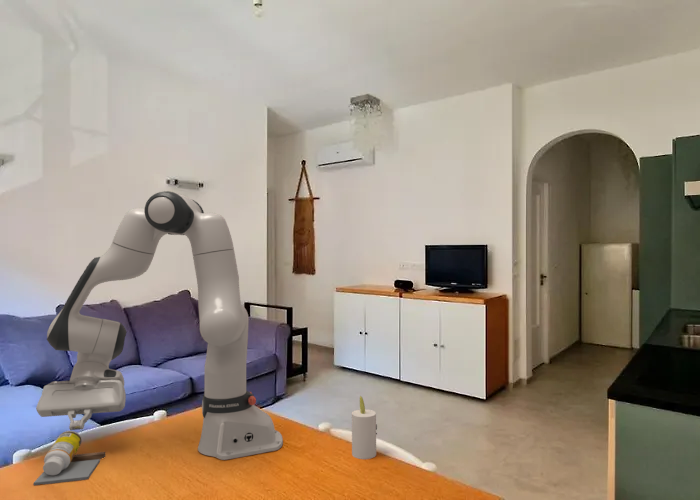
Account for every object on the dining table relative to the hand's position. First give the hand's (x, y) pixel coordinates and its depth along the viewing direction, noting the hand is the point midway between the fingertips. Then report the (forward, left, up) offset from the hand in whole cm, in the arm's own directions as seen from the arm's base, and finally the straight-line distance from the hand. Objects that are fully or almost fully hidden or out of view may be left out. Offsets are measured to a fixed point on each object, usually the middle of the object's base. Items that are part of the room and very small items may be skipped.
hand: (76, 428), depth 115 cm
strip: (0, -2, -8) cm, 9 cm away
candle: (-71, +14, -9) cm, 73 cm away
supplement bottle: (+1, -1, -3) cm, 3 cm away
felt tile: (0, +6, -8) cm, 10 cm away
